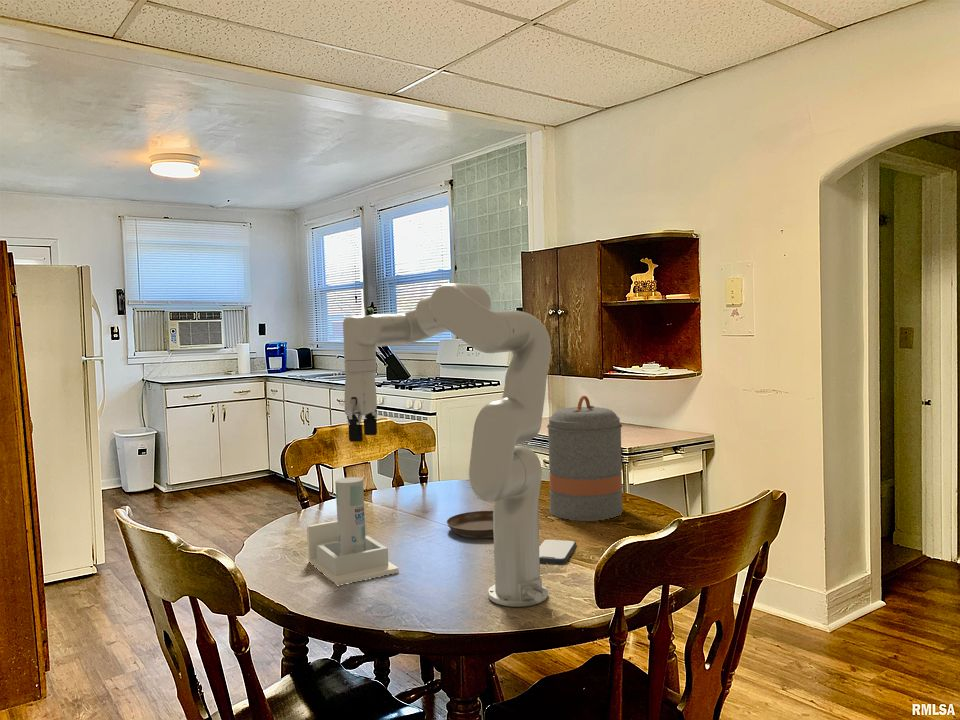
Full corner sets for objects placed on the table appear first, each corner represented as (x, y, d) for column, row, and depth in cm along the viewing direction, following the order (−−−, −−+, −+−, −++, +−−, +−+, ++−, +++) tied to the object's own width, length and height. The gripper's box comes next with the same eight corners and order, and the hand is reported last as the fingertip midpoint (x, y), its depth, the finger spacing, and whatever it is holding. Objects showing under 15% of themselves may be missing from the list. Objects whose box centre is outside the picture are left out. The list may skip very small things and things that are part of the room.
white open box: (398, 572, 170) (397, 534, 169) (337, 586, 162) (335, 546, 162) (365, 551, 187) (364, 515, 187) (308, 562, 179) (306, 525, 179)
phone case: (543, 544, 190) (529, 563, 175) (543, 538, 190) (529, 556, 175) (577, 547, 188) (565, 566, 173) (577, 540, 188) (565, 559, 172)
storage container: (607, 525, 204) (604, 401, 202) (536, 515, 216) (533, 398, 214) (634, 506, 223) (632, 393, 221) (567, 499, 235) (565, 391, 233)
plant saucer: (437, 526, 209) (437, 514, 209) (504, 517, 216) (503, 506, 216) (460, 546, 190) (460, 533, 190) (533, 535, 197) (532, 523, 197)
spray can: (358, 568, 170) (354, 483, 169) (334, 566, 172) (330, 482, 172) (371, 559, 177) (367, 477, 176) (347, 557, 179) (344, 476, 178)
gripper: (359, 365, 185) (361, 432, 185) (331, 370, 168) (334, 444, 169) (387, 364, 183) (390, 432, 184) (362, 369, 166) (365, 444, 167)
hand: (363, 438), depth 176 cm, fingers open, 9 cm apart
